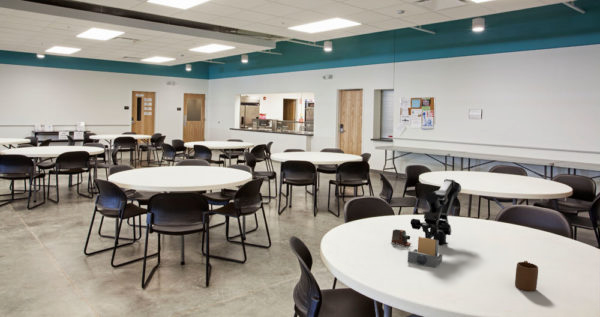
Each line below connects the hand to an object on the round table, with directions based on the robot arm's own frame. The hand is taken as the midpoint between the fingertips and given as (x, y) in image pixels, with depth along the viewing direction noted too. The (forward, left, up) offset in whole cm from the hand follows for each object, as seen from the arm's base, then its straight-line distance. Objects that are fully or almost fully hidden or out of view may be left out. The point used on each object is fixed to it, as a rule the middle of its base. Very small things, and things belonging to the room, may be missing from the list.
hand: (426, 241), depth 195 cm
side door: (+1, +2, -7) cm, 7 cm away
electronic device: (-3, -18, -7) cm, 20 cm away
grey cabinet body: (+7, +5, -7) cm, 11 cm away
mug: (-8, +43, -7) cm, 45 cm away
